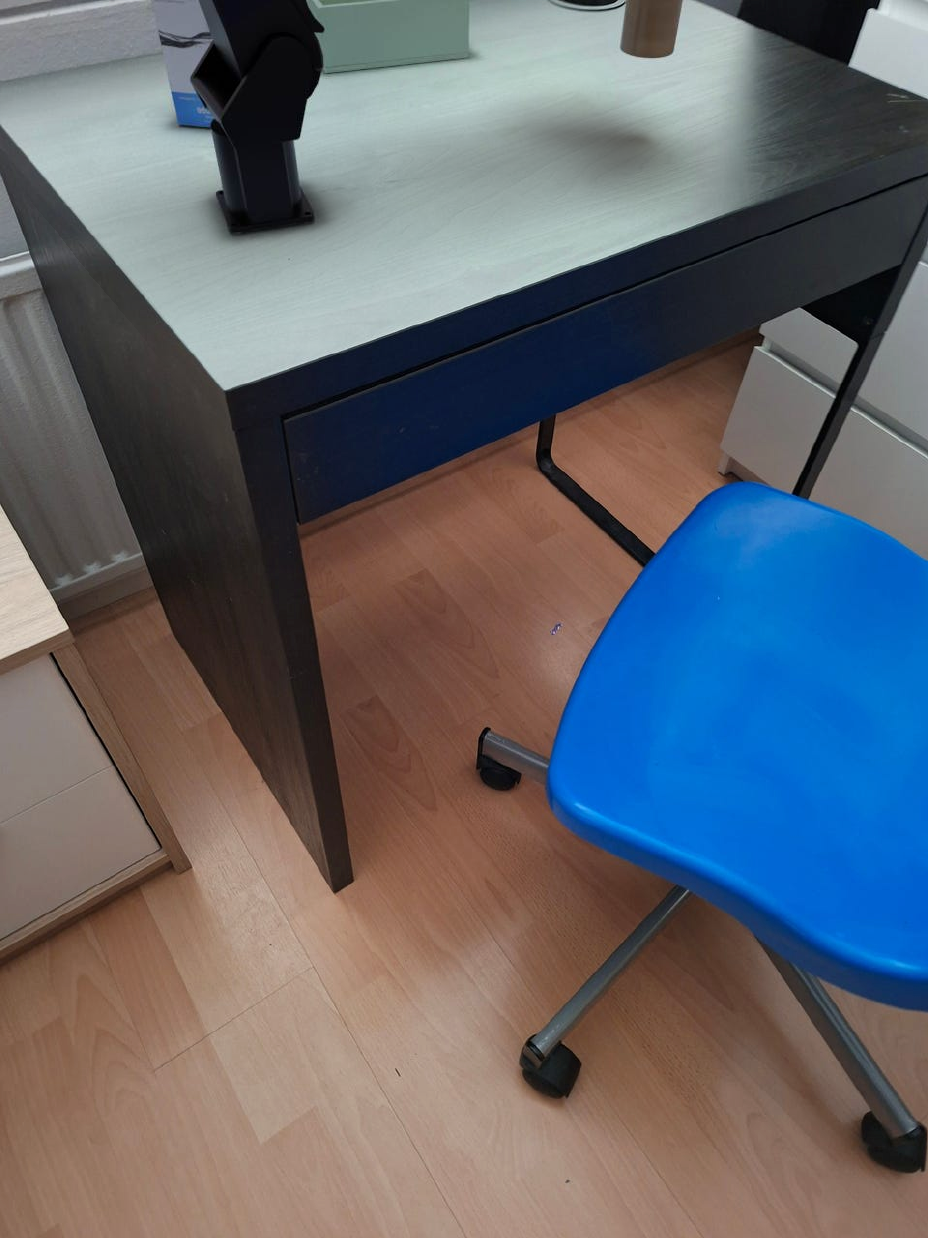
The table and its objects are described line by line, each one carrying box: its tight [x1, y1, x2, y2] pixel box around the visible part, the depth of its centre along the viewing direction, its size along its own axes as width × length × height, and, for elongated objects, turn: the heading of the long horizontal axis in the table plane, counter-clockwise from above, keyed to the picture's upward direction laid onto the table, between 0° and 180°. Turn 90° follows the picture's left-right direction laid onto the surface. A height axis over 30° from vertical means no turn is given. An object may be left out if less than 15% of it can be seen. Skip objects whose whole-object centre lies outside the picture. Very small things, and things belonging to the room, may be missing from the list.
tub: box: [306, 0, 470, 74], centre depth 88 cm, size 15×15×6 cm
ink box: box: [150, 0, 214, 128], centre depth 73 cm, size 8×5×12 cm, turn 168°
